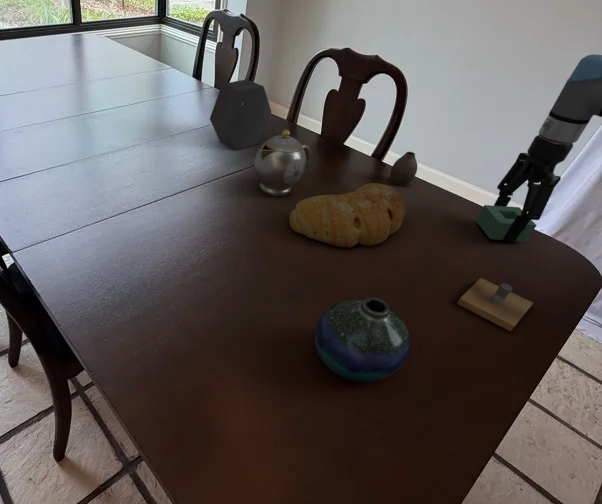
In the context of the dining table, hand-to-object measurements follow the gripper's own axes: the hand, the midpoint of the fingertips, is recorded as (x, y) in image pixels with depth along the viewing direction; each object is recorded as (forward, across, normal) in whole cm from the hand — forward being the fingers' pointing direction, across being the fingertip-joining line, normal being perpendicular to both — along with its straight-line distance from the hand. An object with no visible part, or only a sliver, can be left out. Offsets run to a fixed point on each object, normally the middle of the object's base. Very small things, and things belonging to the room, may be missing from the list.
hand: (500, 229), depth 112 cm
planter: (+1, -47, -66) cm, 81 cm away
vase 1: (+1, +49, -48) cm, 69 cm away
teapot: (+1, -16, -55) cm, 58 cm away
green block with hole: (0, 0, 0) cm, 0 cm away
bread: (+1, +2, -38) cm, 38 cm away
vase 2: (+1, -26, -18) cm, 32 cm away
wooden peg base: (+1, +30, -14) cm, 33 cm away
